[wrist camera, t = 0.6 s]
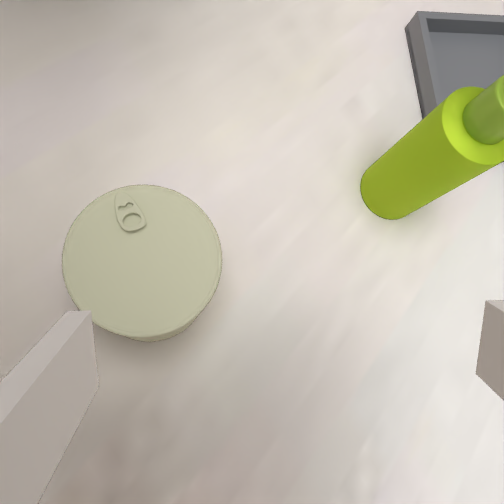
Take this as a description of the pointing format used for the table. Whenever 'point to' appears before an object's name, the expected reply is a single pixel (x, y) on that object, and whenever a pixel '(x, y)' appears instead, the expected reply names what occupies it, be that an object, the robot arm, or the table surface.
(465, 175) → the soap dispenser
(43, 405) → the robot arm
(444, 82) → the tray
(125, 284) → the can
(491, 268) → the table surface
